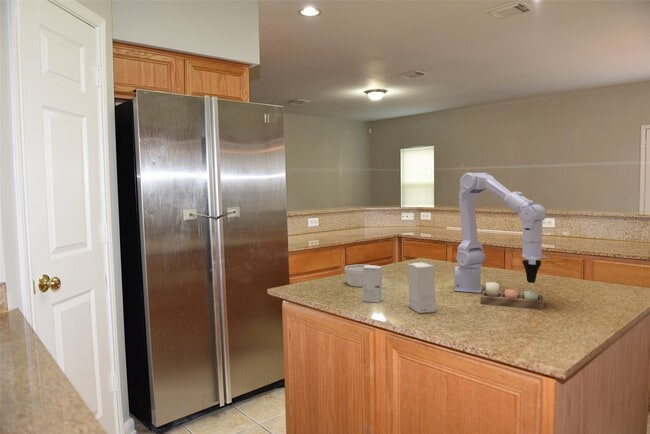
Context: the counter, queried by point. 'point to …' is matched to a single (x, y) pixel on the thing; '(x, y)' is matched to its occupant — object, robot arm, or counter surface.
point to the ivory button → (492, 289)
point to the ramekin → (354, 275)
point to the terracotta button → (511, 293)
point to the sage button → (531, 295)
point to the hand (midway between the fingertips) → (531, 282)
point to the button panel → (511, 301)
